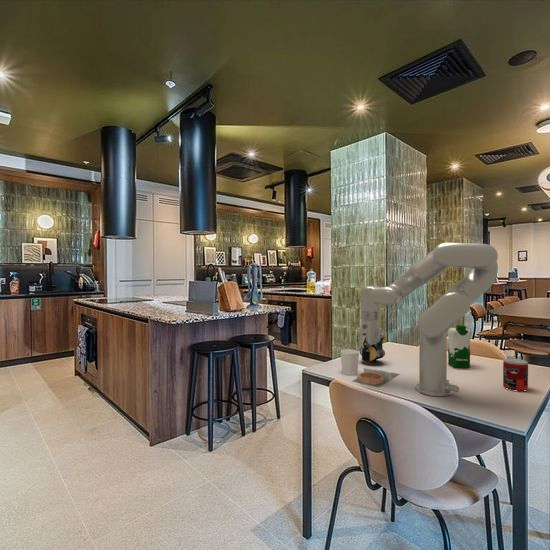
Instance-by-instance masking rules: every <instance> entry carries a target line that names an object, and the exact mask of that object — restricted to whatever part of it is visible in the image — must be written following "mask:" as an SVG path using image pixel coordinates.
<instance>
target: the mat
mask: <svg viewBox="0 0 550 550" xmlns="http://www.w3.org/2000/svg"><path fill="white" fill-rule="evenodd" d="M374 369H375V368H374ZM375 370H377V369H375ZM379 370H380V371H382V370H381V369H379ZM384 371H385V372H388V371H386V370H384ZM389 372H390V371H389ZM390 373H391V380H386V379H384V381H383V383H382V384H380V385H369V386H371V387H375V388H381V387H383V386H384V385H385V384H387V383H389V382H390V381H392V380H393V379H395V378H396V377H398V376H399V375H400V373H396V372H390ZM352 382H353V383H359V384H362V385H364V384H363V383H360V382H359V381H358V379H357V378H355V379H353V380H352ZM365 385H367V384H365ZM367 386H368V385H367Z"/></svg>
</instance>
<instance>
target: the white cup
mask: <svg viewBox="0 0 550 550" xmlns="http://www.w3.org/2000/svg"><path fill="white" fill-rule="evenodd" d="M359 354H360V350H357V349H349V348H347V349H341V350H340V362H341V364H340V365H341V372H342V374H343V375H347V376H354V375H356V376H357V374H358V371H359V356H360V355H359Z"/></svg>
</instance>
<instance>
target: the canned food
mask: <svg viewBox="0 0 550 550" xmlns="http://www.w3.org/2000/svg"><path fill="white" fill-rule="evenodd" d="M528 362H529V361H527V360H524V359H520V358H514V357H513V358H511V357H509V358H508V357H507V358H503V363H502V368H503V369H502V372H503V373H502V381H503V382H502V386H503V388H504V387H505V389H506V388H508V389H511V390H517V391H524V390H527V391H528V389H529V363H528ZM508 389H507V390H508ZM511 390H510V391H511Z"/></svg>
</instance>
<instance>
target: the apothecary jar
mask: <svg viewBox="0 0 550 550" xmlns="http://www.w3.org/2000/svg"><path fill="white" fill-rule="evenodd" d="M385 338H386V335H385V333H384V332H383V330H382V327H380V342H378V343H377V348H376V349H377V358H375V359H374V360H372V361H364V360H362V362H361V363H362V364H363V365H365V366H368V367H369V366H370V367H380V366H383V362H382V361H379V359H382V358H384V357H385V355H386V352H385V350H384V349H383V348H384V347H383V345H384V344H383V341H384V340H385ZM366 343H367V344H368V342H366ZM365 346H367V345H365ZM359 354H360V355H361V356H362V348H361V347H360V349H359Z"/></svg>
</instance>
